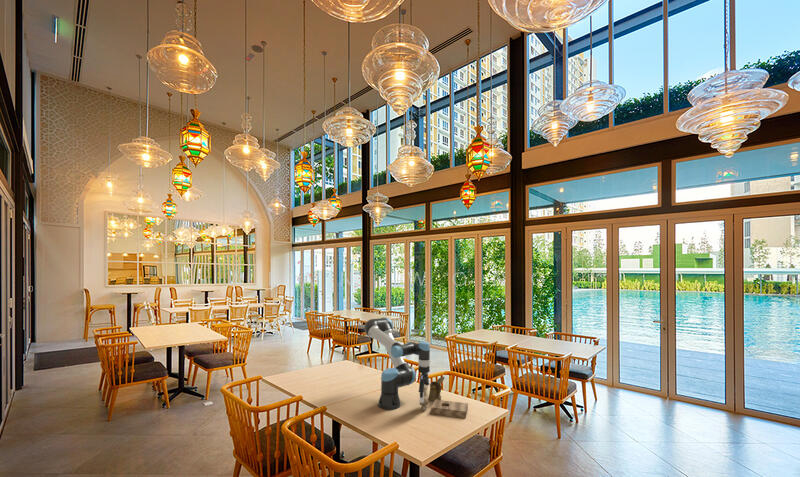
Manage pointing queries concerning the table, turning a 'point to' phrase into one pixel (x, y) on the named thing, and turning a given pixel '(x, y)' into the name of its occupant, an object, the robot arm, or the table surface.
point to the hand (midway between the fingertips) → (423, 398)
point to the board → (449, 408)
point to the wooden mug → (435, 390)
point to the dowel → (425, 399)
